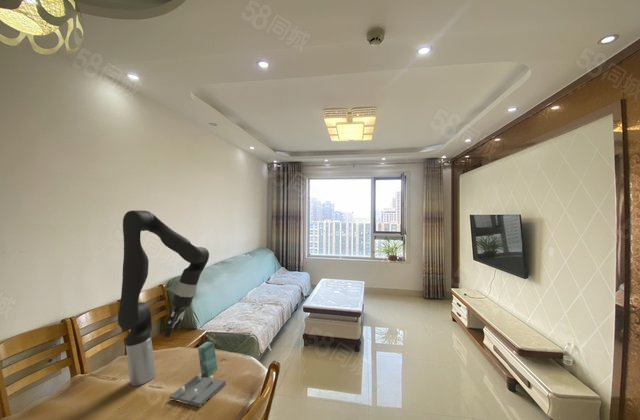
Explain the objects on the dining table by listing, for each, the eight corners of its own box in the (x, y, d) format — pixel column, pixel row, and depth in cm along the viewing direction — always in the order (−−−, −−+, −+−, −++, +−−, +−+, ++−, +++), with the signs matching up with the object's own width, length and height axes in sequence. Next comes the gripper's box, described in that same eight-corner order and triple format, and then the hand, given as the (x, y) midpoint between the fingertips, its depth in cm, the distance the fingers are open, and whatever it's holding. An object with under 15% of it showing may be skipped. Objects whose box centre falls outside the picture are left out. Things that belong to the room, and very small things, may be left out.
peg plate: (170, 400, 95) (168, 389, 96) (196, 379, 107) (195, 369, 107) (200, 407, 89) (199, 396, 89) (225, 384, 100) (224, 374, 100)
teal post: (201, 375, 109) (197, 347, 109) (210, 368, 113) (207, 341, 114) (208, 376, 107) (204, 348, 107) (217, 369, 112) (213, 342, 112)
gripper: (181, 288, 113) (168, 325, 111) (168, 294, 100) (153, 337, 97) (198, 292, 115) (186, 329, 112) (188, 299, 101) (173, 341, 98)
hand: (171, 332), depth 104 cm, fingers open, 8 cm apart
